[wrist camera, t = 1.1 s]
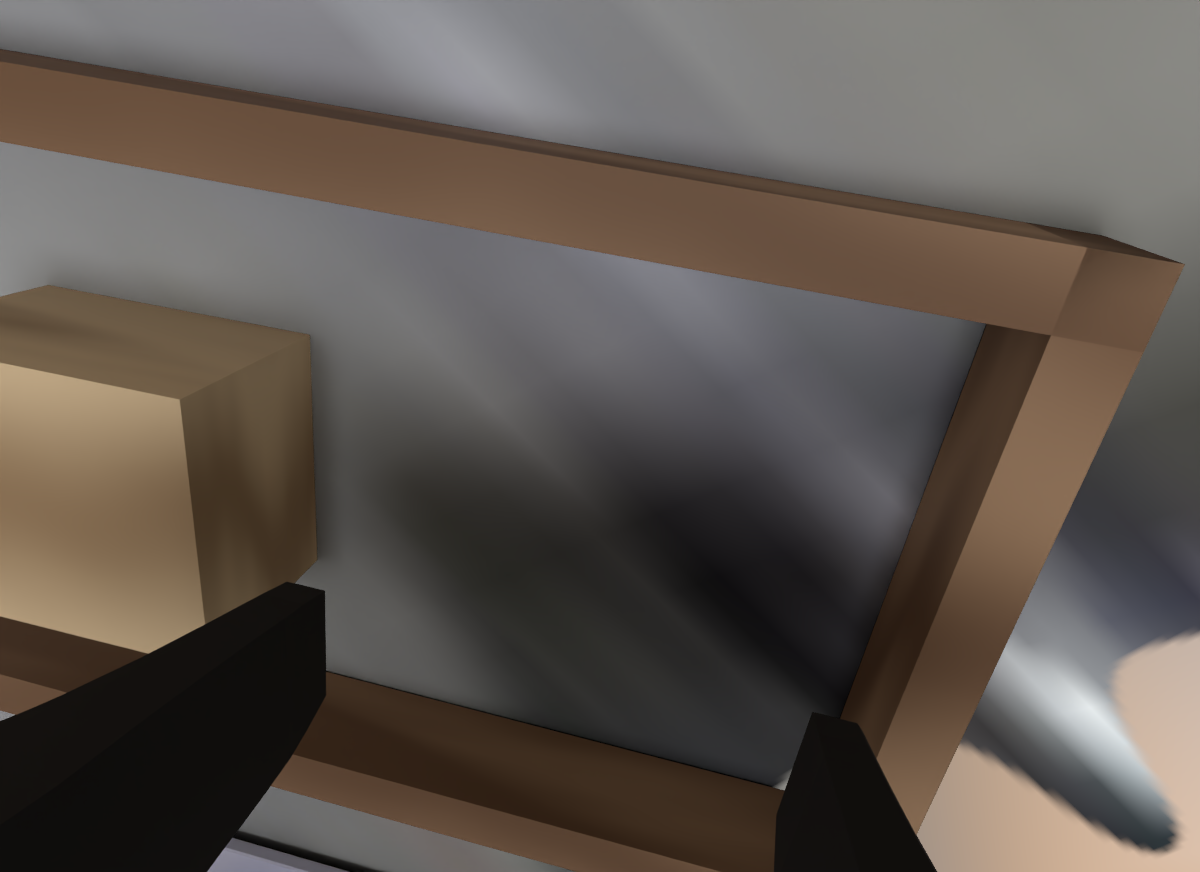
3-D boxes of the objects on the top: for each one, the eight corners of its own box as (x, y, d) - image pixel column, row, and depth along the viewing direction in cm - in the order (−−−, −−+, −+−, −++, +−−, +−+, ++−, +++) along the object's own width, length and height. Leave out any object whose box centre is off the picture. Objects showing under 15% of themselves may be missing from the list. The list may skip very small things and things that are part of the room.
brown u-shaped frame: (848, 845, 18) (861, 951, 16) (8, 622, 20) (-84, 686, 18) (1103, 236, 12) (1184, 263, 10) (-129, 27, 14) (-293, 11, 12)
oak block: (321, 555, 18) (209, 668, 14) (93, 504, 18) (-68, 599, 15) (314, 332, 15) (179, 399, 12) (55, 283, 16) (-146, 332, 13)
